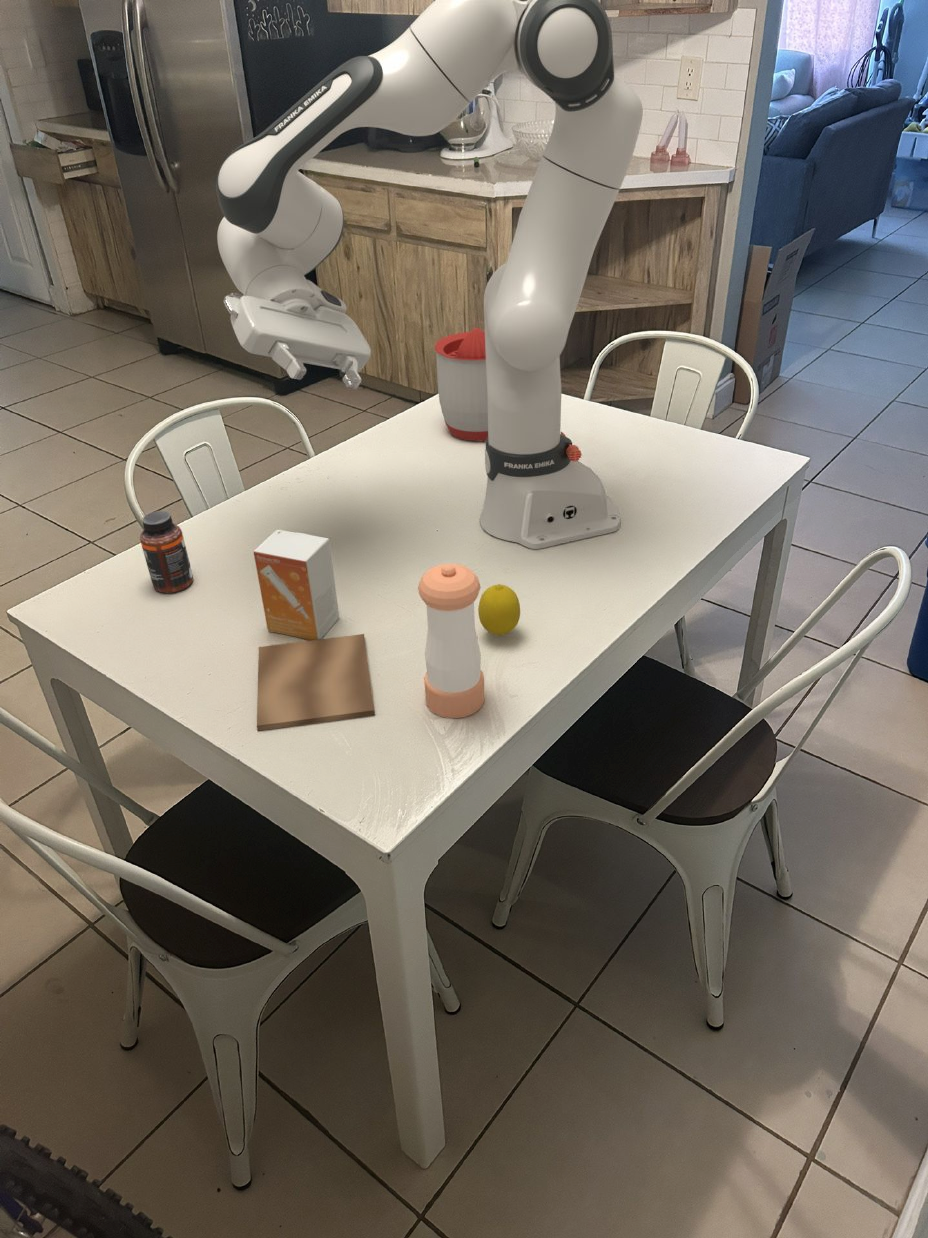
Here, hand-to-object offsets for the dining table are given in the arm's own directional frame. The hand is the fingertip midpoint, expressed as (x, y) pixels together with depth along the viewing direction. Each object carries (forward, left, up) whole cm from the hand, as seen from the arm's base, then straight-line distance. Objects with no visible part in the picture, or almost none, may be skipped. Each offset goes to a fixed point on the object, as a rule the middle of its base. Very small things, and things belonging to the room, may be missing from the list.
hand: (328, 380), depth 120 cm
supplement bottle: (+26, -4, -31) cm, 41 cm away
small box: (+7, +11, -31) cm, 33 cm away
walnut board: (+6, +24, -30) cm, 39 cm away
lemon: (-19, +19, -31) cm, 40 cm away
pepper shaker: (-11, +31, -31) cm, 45 cm away
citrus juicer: (-29, -48, -31) cm, 64 cm away
